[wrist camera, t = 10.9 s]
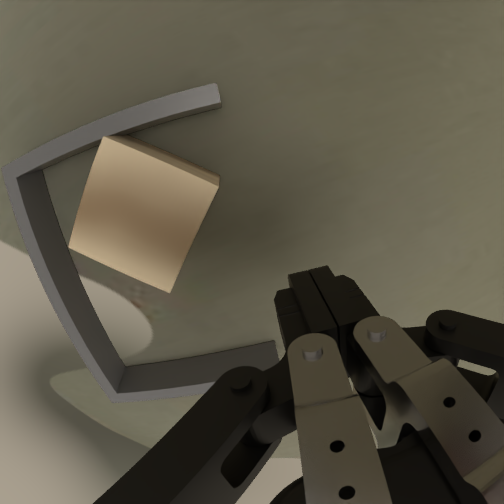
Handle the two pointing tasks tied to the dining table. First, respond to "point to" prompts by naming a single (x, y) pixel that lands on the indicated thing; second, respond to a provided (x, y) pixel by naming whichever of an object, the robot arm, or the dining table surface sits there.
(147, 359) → the dining table surface
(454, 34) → the dining table surface
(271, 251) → the dining table surface
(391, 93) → the dining table surface
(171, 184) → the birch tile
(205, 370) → the bin
